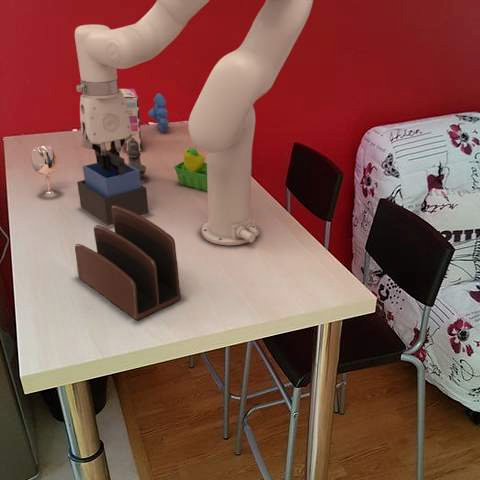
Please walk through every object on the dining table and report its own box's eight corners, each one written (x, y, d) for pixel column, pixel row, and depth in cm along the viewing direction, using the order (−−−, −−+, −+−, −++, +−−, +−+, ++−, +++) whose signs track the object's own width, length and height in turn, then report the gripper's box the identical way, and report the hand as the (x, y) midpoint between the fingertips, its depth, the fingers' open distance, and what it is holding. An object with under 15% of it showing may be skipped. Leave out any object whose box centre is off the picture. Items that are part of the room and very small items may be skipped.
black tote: (148, 215, 138) (146, 187, 135) (108, 227, 132) (104, 199, 128) (120, 197, 146) (117, 171, 143) (81, 208, 140) (77, 181, 136)
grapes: (146, 126, 197) (143, 90, 191) (165, 125, 200) (163, 89, 193) (152, 136, 188) (150, 99, 182) (173, 135, 190) (171, 98, 184)
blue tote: (142, 202, 137) (137, 155, 131) (110, 212, 132) (103, 163, 126) (119, 188, 143) (113, 143, 137) (87, 197, 138) (80, 151, 132)
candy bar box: (143, 151, 176) (138, 96, 168) (126, 152, 175) (120, 97, 166) (139, 139, 185) (134, 87, 177) (123, 140, 184) (117, 88, 175)
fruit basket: (224, 184, 156) (224, 144, 150) (206, 195, 149) (205, 153, 144) (189, 176, 161) (187, 136, 155) (170, 186, 154) (168, 145, 148)
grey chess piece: (135, 186, 153) (131, 142, 147) (120, 180, 156) (115, 137, 150) (151, 180, 157) (148, 137, 151) (137, 174, 160) (133, 132, 154)
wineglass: (66, 192, 148) (59, 146, 142) (53, 200, 143) (45, 154, 137) (46, 189, 149) (38, 144, 143) (33, 197, 145) (24, 151, 138)
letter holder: (121, 261, 119) (114, 198, 112) (181, 300, 108) (177, 233, 101) (78, 278, 113) (67, 213, 106) (136, 321, 102) (129, 252, 94)
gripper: (74, 96, 117) (87, 181, 126) (141, 85, 126) (149, 165, 136) (57, 89, 121) (71, 172, 131) (123, 79, 131) (132, 157, 140)
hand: (110, 168), depth 133 cm, fingers closed on blue tote
